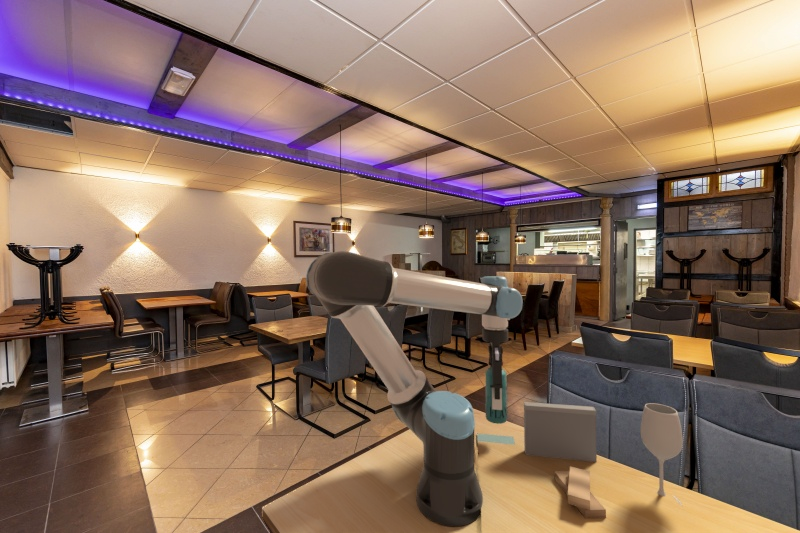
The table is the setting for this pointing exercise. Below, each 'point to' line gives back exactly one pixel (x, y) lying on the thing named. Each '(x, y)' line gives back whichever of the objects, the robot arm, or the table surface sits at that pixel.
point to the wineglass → (661, 435)
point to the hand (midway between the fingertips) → (496, 403)
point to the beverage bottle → (491, 414)
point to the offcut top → (579, 488)
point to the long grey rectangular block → (560, 431)
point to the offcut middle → (595, 505)
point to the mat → (495, 439)
